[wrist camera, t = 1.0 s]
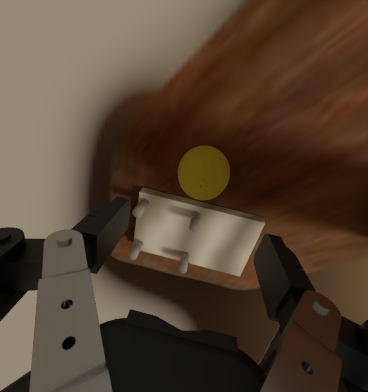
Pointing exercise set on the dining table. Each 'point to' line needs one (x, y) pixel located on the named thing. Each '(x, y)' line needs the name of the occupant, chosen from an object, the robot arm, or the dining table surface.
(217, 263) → the peg board
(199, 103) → the dining table surface
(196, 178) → the lemon
